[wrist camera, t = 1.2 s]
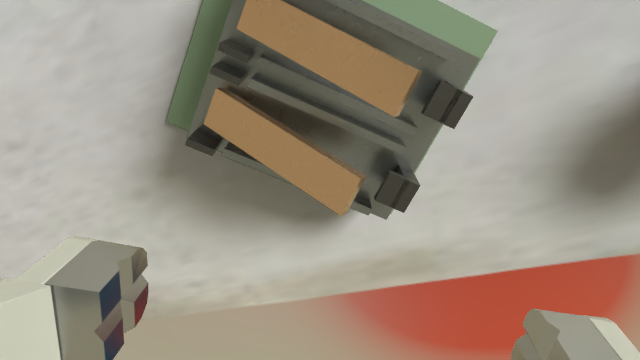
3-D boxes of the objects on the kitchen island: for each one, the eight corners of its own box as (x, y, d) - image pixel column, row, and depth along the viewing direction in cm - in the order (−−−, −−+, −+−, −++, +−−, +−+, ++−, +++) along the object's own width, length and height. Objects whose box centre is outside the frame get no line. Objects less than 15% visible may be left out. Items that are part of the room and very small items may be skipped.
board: (168, 119, 37) (165, 121, 36) (236, -102, 30) (235, -104, 30) (389, 211, 40) (390, 214, 40) (494, 30, 34) (497, 31, 33)
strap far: (212, 123, 31) (203, 123, 30) (225, 88, 30) (215, 87, 29) (347, 212, 27) (341, 216, 26) (366, 175, 26) (360, 178, 25)
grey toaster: (204, 120, 36) (174, 150, 29) (261, -48, 31) (242, -61, 24) (379, 193, 39) (391, 238, 32) (459, 50, 34) (495, 64, 27)
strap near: (245, 30, 28) (236, 28, 27) (260, -11, 27) (251, -15, 26) (398, 116, 25) (393, 116, 24) (422, 71, 24) (418, 70, 23)
